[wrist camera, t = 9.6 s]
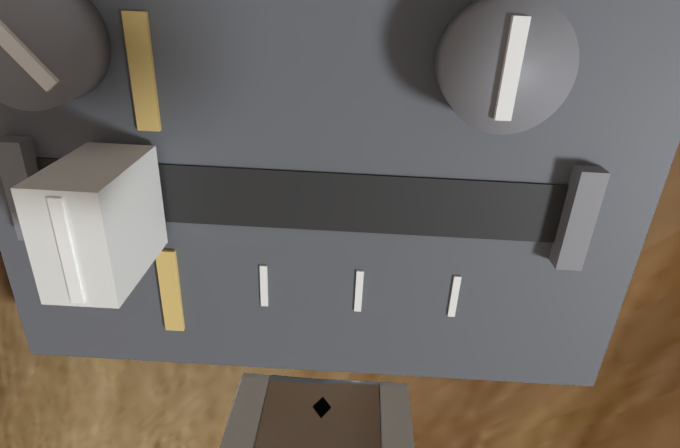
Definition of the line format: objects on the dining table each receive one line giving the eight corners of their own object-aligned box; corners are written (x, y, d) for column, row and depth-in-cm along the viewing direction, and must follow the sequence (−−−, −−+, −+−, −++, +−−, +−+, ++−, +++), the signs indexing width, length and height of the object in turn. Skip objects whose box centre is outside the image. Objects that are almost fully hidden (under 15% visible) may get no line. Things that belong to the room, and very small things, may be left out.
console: (-28, -62, 18) (-160, -76, 14) (683, -29, 18) (795, -32, 13) (65, 315, 26) (0, 388, 21) (568, 343, 26) (615, 424, 21)
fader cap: (87, 142, 18) (8, 189, 14) (155, 145, 18) (95, 194, 14) (105, 238, 20) (39, 306, 16) (167, 242, 20) (117, 310, 16)
